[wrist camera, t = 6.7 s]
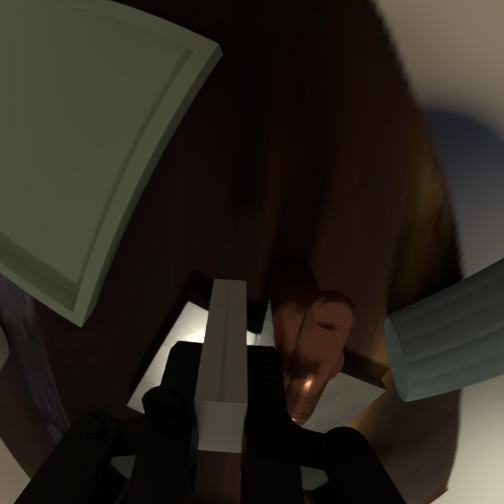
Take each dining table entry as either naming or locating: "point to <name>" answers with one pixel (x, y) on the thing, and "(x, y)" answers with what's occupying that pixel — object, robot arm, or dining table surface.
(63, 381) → the dining table surface
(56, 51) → the tray
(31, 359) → the dining table surface
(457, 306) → the cup
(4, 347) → the candle holder
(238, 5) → the dining table surface
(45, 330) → the dining table surface
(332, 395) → the crank plate
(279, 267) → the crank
